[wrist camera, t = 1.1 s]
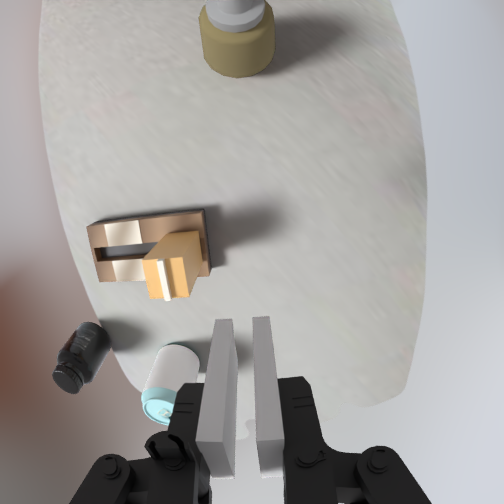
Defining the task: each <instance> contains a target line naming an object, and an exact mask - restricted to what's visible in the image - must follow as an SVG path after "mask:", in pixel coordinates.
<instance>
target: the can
mask: <svg viewBox="0 0 504 504" xmlns="http://www.w3.org/2000/svg"><path fill="white" fill-rule="evenodd" d="M199 367H200V362H199V359H198V357H197V355H196V354H195V353H194V352H193V351H191V350H190V349H188V348H186V347H184V346H181V345H167V346H164V347H163V348H161V349H160V350H159V352H158V354H157V357H156V359H155V362H154V364H153V367H152V369H151V372H150V375H149V377H148V380H147V382H146V385H145V388H144V390H143V393H142V396H141V399H142V403H143V410H144V412H145V414H146V415H147V416H148V417H149V418H150V419H152V420H154V421H156V422H158V423H160V424H164V425H169V422H170V418H171V414H172V413H173V411H172V410H173V406H174V404H175V403H174V402H175V398H176V394H177V391H178V390H179V389H180V388H181V387H182V385H183V384H184V383H196V382H197V377H198V372H199Z"/></svg>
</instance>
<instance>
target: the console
mask: <svg viewBox="0 0 504 504" xmlns="http://www.w3.org/2000/svg"><path fill="white" fill-rule="evenodd" d="M189 231H199V238H200V246H201V253H202V260H203V263H202V266H201V268H200V271H199V273H198V276H197V277H204V276H209V275H210V272H211V269H212V268H211V261H210V253H209V245H208V237H207V229H206V221H205V212H204V209H201V210H191V211H181V212H172V213H163V214H154V215H146V216H138V217H130V218H122V219H115V220H107V221H100V222H95V223H93V224H91V225H89V226H87V232H88V237H89V242H90V246H91V251H92V255H93V259H94V263H95V267H96V271H97V275H98V278H99V282H113V281H117V282H120V281H140V280H146V279H145V274H144V270H143V265H142V259H143V258H144V257H145V256H146V255H147V254H148V253H149V252H150V251H151V249H152V248H153V247H154V246H155V245H156V244H157V243H158V242H159V241H160V240H161V239H162V238H163V237H164V236H165V235H166V234H167V233H178V232H189Z"/></svg>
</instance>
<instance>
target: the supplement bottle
mask: <svg viewBox="0 0 504 504" xmlns="http://www.w3.org/2000/svg"><path fill="white" fill-rule="evenodd" d="M110 348H111V341H110V338H109V336H108V334H107V333H106V331H105V330H104V329H103V328H102V327H100V326H99V325H97V324H95V323H92V322H84V323H82V324H81V325H79V327H78V328H77V329H76V330H75V331H74V333H73V334H72V335H71V337H70V338H69V339H68V341H67V342H66V343H65V344H64V346H63V347H62V349H61V350H60V351H59V353H58V355H57V364H58V365H57V366H56V368H55V370H54V371H53V373H52V376H53V379H54V381H55V383H56V384H57V385H58V386H59V387H60V388H61V389H63V390H64V391H66V392H68V393H71V394H77V393H78V392H79V391H80V389H81V387H82V386H83V384H88V383H90V382H92V380H93V379H94V377H95V376H96V374H97V372H98V370H99V368H100V367H101V365H102V363H103V361H104V359H105V358H106V356H107V354H108V352H109V351H110Z"/></svg>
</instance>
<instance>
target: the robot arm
mask: <svg viewBox="0 0 504 504" xmlns="http://www.w3.org/2000/svg"><path fill="white" fill-rule="evenodd" d="M253 349H254V382H255V415H256V442H257V450H258V457H259V464H260V472H261V478H270V477H282V476H283V479H284V504H338V503H344V504H432V503H431V502H430V500H429V499H428V498H427V496H426V494H425V493H424V492H423V490H422V489H421V487H420V486H419V484H418V483H417V481H416V480H415V478H414V477H413V475H412V474H411V473H410V471H409V470H408V468H407V467H406V465H405V464H404V462H403V461H402V459H401V458H400V457H399V455H398V454H397V453H396V452H395V451H394V450H393V449H391V448H389V447H386V446H375V447H371V448H368V449H367V450H365V451H364V452H363V453H362V454H360V453H344V452H339V451H336V450H334V449H332V448H331V447H329V446H328V445H327V444H326V443H325V442H324V439H323V437H322V432H321V428H320V424H319V420H318V415H317V411H316V407H315V403H314V398H313V394H312V390H311V386H310V384H309V383H308V382H307V381H306V380H305V378H304V377H303V376H300V377H290V378H280V379H277V373H276V365H275V357H274V348H273V340H272V332H271V325H270V317H269V316H265V317H253ZM237 379H238V359H237V352H236V345H235V337H234V330H233V322H232V319H217V320H215V325H214V330H213V336H212V342H211V348H210V353H209V359H208V365H207V371H206V377H205V383H184V384H183V385H182V387H181V388H180V389H179V390H178V391H177V394H176V398H175V402H174V403H175V404H174V406H173V410H172V411H173V413H172V414H171V418H170V422H169V427H168V431H161V432H158V433H156V434H154V435H152V436H151V437H150V438H149V439H148V440H147V442H146V444H145V448H146V450H147V451H148V453H149V454H150V456H151V457H149V458H145V459H138V460H131V461H127V460H126V459H125V458H123V457H121V456H120V455H115V454H107V455H104V456H102V457H100V458H99V459H98V460H97V461H96V462H95V463H94V465H93V466H92V468H91V469H90V471H89V473H88V474H87V476H86V478H85V479H84V481H83V482H82V484H81V485H80V487H79V489H78V490H77V492H76V494H75V495H74V497H73V498H72V500H71V502H70V503H69V504H212V491H211V487H210V485H209V482H210V474H211V476H212V478H214V479H234V472H235V438H236V407H237Z"/></svg>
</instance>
